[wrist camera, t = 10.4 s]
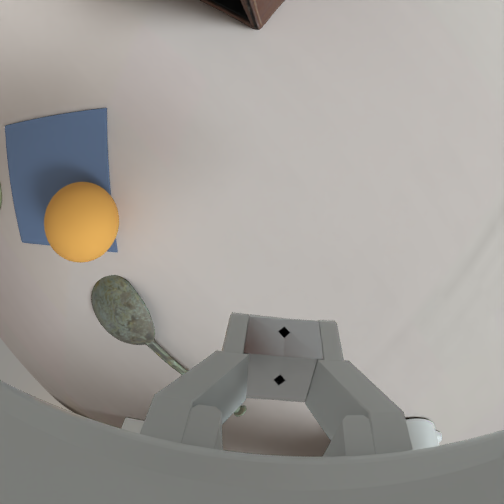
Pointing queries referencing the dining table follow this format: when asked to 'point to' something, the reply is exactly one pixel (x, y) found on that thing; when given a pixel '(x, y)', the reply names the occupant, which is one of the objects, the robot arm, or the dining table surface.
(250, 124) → the dining table surface
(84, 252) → the ball
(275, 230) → the dining table surface
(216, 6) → the letter holder
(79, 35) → the dining table surface
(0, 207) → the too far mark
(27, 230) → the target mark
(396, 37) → the dining table surface
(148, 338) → the soupspoon
